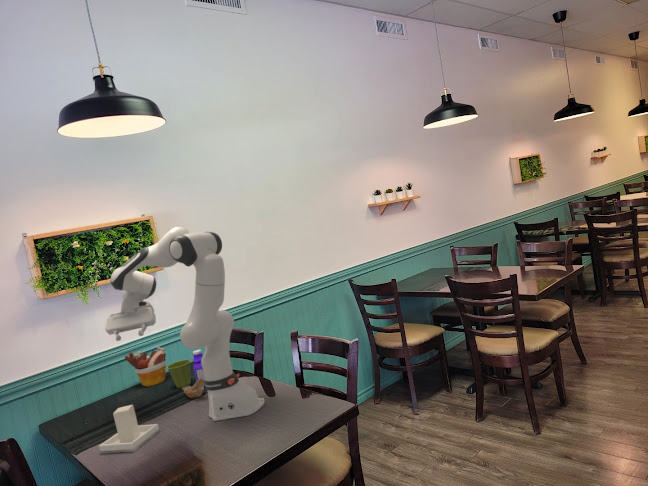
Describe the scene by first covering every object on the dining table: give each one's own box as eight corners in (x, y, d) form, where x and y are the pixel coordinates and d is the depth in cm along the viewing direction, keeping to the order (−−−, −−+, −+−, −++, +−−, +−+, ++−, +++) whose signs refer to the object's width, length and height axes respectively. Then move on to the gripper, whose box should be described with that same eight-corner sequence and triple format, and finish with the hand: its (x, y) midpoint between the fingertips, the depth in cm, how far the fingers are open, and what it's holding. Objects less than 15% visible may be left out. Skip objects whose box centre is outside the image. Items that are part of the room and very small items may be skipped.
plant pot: (171, 385, 246) (166, 364, 246) (195, 378, 250) (190, 357, 249) (171, 392, 235) (166, 370, 234) (196, 385, 238) (190, 362, 238)
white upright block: (140, 434, 185) (132, 404, 184) (135, 441, 180) (127, 410, 179) (125, 438, 185) (118, 407, 184) (120, 444, 179) (112, 413, 179)
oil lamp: (196, 403, 211) (190, 381, 210) (177, 396, 227) (172, 375, 227) (213, 395, 216) (208, 374, 216) (194, 389, 233) (189, 368, 232)
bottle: (207, 388, 230) (199, 352, 229) (196, 389, 231) (188, 354, 230) (213, 382, 237) (205, 347, 236) (203, 383, 238) (195, 349, 237)
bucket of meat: (163, 375, 272) (154, 340, 270) (178, 377, 260) (169, 341, 259) (128, 389, 257) (120, 352, 256) (143, 392, 246) (134, 354, 245)
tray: (159, 431, 187) (158, 423, 187) (133, 451, 173) (131, 443, 173) (128, 433, 192) (126, 426, 192) (100, 453, 177) (98, 445, 177)
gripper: (104, 311, 207) (100, 339, 198) (152, 301, 208) (150, 328, 199) (111, 319, 212) (107, 347, 203) (157, 309, 213) (156, 336, 204)
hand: (129, 337), depth 201 cm, fingers open, 8 cm apart
